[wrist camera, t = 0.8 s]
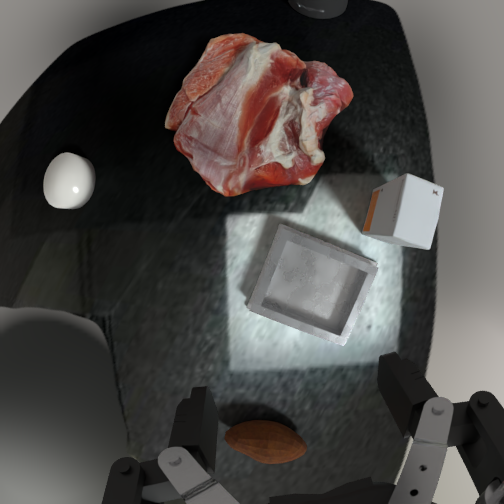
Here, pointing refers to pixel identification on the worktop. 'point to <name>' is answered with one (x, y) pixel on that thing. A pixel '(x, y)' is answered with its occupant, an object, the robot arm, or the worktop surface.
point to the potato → (266, 441)
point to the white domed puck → (69, 181)
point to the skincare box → (404, 212)
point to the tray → (312, 285)
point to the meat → (255, 115)
